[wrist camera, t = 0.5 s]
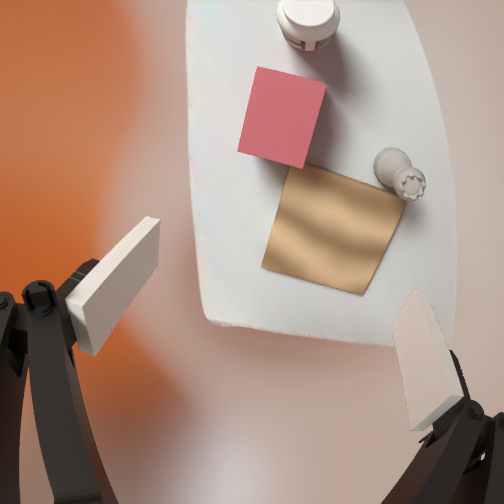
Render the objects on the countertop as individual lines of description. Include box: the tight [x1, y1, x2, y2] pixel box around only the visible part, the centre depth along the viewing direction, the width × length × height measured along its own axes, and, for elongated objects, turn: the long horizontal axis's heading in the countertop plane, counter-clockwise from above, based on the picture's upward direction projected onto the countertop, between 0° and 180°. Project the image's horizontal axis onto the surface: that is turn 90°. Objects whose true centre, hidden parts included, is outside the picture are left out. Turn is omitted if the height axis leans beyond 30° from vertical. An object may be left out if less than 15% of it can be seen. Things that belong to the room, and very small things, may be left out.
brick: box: [237, 67, 327, 169], centre depth 27 cm, size 8×6×7 cm
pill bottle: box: [276, 0, 340, 51], centre depth 21 cm, size 5×5×10 cm
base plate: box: [261, 163, 407, 295], centre depth 35 cm, size 14×14×1 cm
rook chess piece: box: [373, 147, 426, 201], centre depth 27 cm, size 4×4×8 cm
